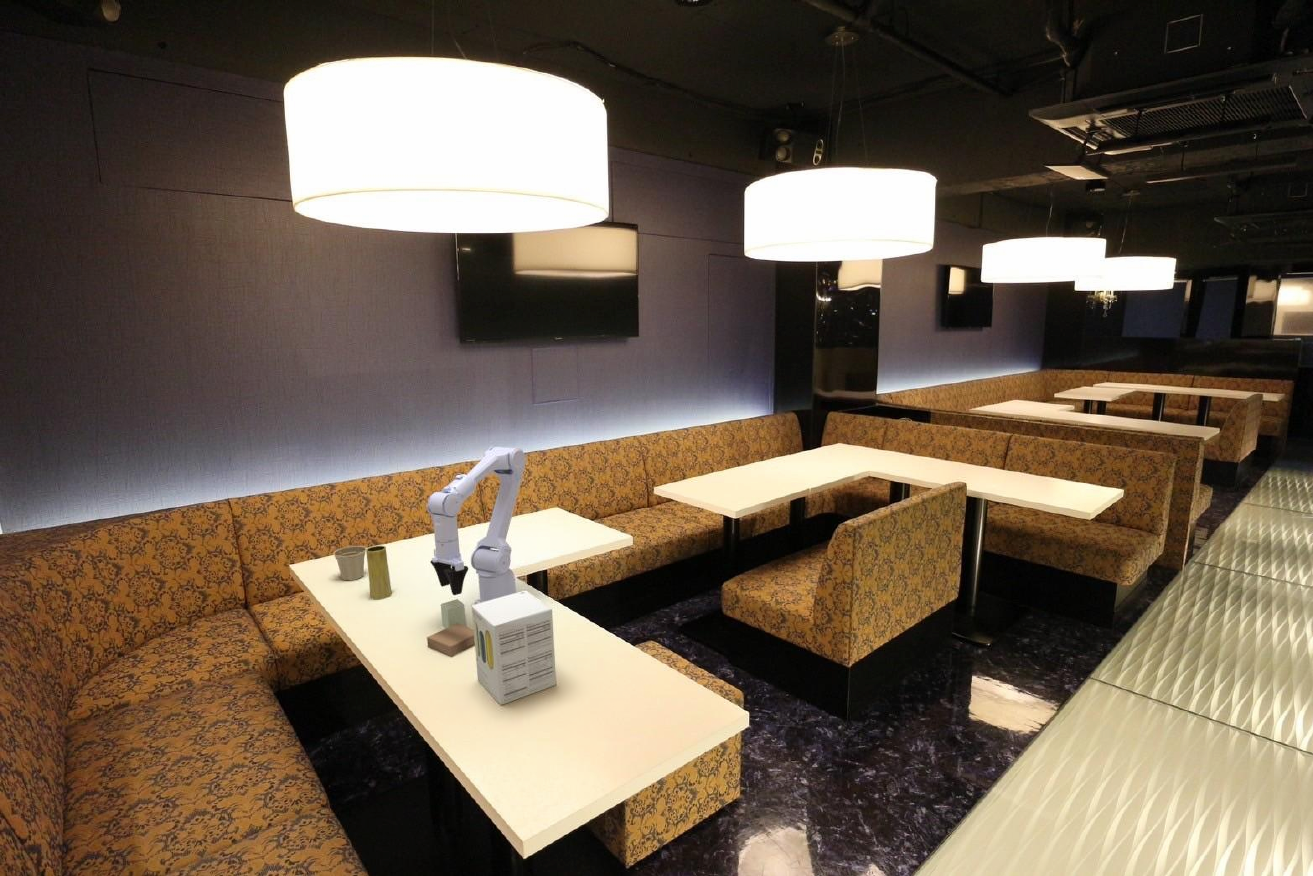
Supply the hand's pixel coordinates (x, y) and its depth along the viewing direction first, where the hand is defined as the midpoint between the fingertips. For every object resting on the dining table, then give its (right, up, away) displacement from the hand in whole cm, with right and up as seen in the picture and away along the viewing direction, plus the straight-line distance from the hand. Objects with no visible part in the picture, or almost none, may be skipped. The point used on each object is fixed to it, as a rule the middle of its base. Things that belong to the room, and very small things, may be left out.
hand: (451, 589), depth 171 cm
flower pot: (-42, -5, +38) cm, 57 cm away
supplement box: (+22, -14, -26) cm, 37 cm away
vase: (-27, -7, +23) cm, 36 cm away
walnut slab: (+4, -12, -8) cm, 15 cm away
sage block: (0, -10, +2) cm, 10 cm away
